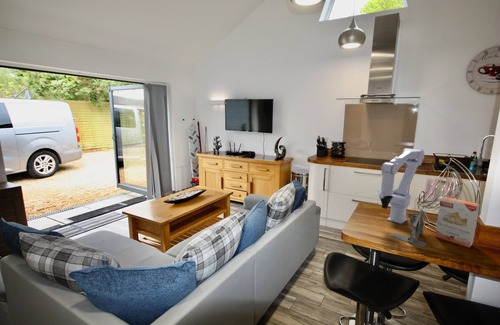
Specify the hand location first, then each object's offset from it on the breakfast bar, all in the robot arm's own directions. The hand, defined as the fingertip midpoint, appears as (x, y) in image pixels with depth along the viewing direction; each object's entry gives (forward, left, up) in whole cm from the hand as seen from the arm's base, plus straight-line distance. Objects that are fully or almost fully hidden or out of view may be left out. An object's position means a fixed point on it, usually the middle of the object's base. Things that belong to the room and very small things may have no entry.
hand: (384, 208), depth 140 cm
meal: (+2, +16, -10) cm, 19 cm away
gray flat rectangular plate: (+8, +15, -10) cm, 20 cm away
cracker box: (-9, +30, -11) cm, 33 cm away
